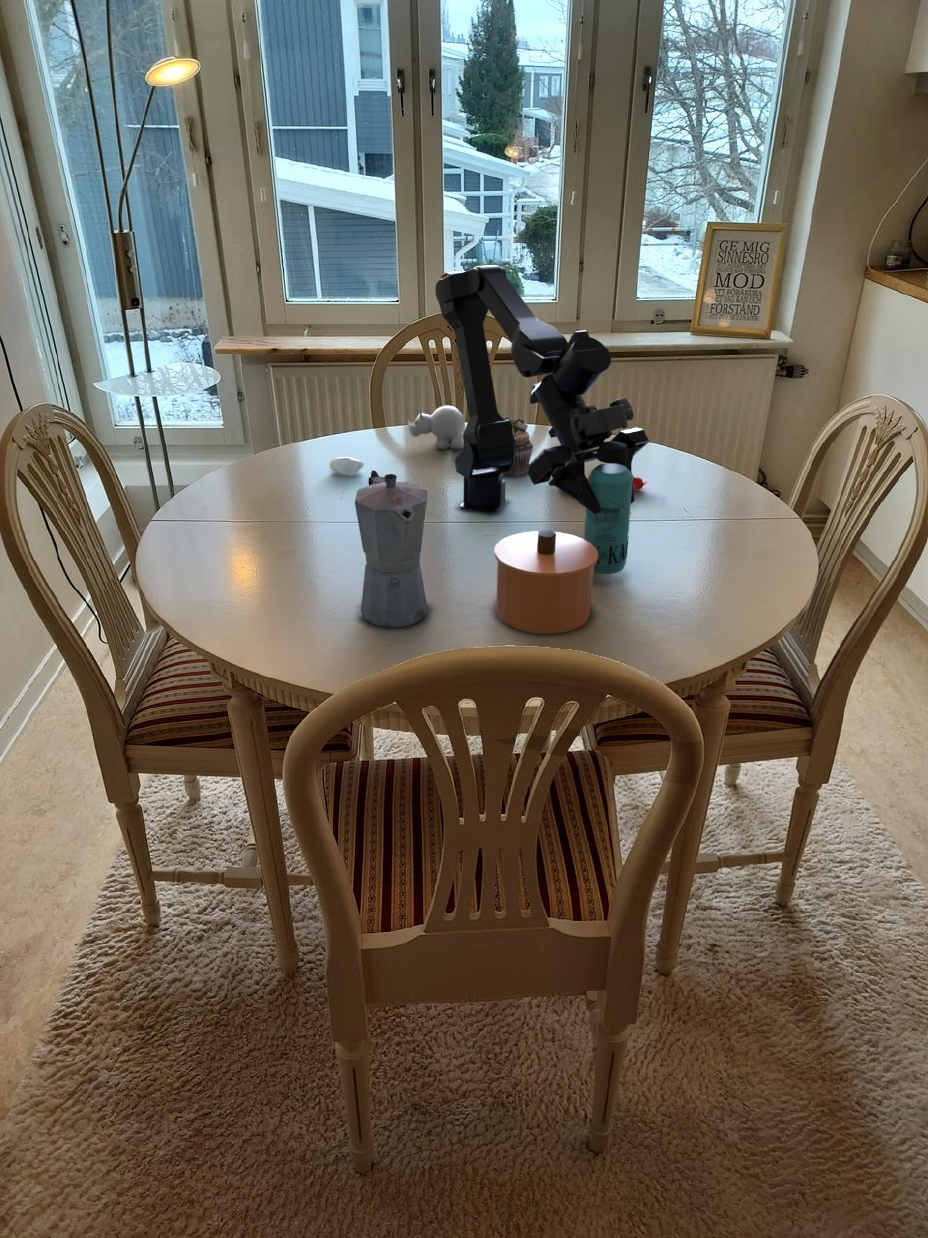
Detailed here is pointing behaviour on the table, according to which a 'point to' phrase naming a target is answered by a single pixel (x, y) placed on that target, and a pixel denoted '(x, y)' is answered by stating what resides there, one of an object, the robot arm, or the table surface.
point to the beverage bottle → (610, 508)
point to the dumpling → (346, 465)
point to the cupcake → (520, 448)
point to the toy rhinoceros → (440, 426)
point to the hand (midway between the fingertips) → (614, 507)
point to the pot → (543, 600)
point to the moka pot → (392, 550)
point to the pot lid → (546, 553)
